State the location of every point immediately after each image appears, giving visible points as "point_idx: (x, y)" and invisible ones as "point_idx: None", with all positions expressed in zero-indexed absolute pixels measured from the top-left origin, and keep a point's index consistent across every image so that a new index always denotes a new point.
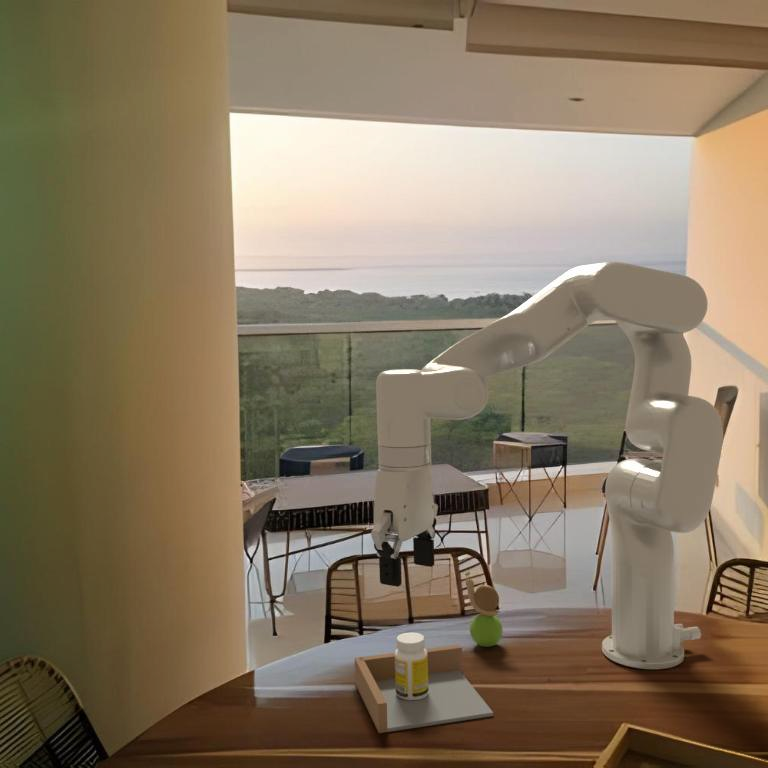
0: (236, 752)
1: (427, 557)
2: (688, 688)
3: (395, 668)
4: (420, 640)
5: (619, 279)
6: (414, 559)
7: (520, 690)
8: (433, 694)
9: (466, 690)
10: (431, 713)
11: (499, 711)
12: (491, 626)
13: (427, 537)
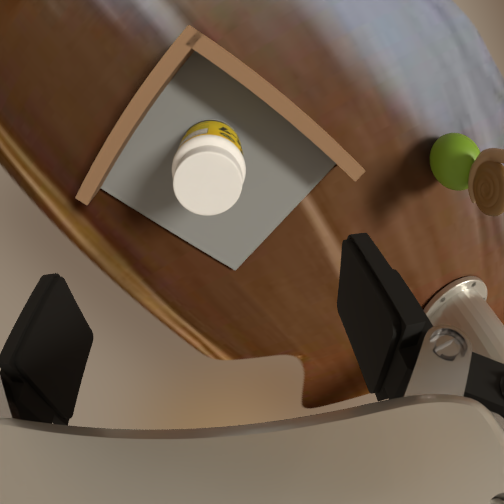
0: None
1: (349, 321)
2: None
3: (181, 142)
4: (207, 213)
5: None
6: (350, 251)
7: (322, 259)
8: None
9: (274, 209)
10: (176, 209)
11: (251, 266)
12: (450, 184)
13: (390, 396)
